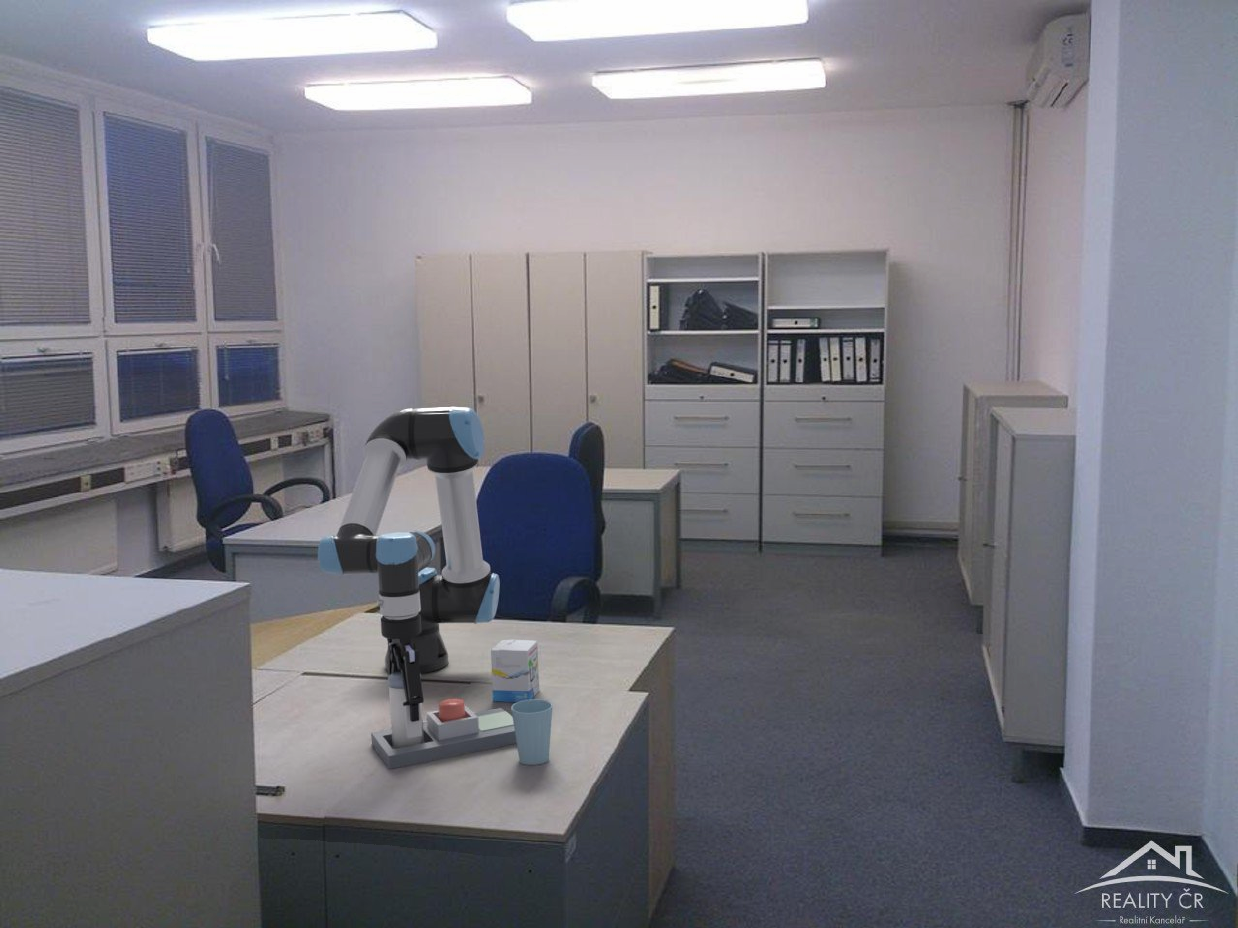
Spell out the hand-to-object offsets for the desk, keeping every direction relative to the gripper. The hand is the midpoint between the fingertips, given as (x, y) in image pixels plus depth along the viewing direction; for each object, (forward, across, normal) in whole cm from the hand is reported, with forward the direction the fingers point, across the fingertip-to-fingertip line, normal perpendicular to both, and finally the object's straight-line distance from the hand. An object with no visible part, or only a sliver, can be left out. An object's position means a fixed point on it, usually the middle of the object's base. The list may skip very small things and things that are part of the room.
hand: (407, 727), depth 212 cm
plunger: (+2, 0, +9) cm, 9 cm away
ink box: (+5, -20, +30) cm, 36 cm away
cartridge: (+5, 0, 0) cm, 5 cm away
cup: (+5, +16, +20) cm, 26 cm away
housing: (+5, 0, +8) cm, 9 cm away
